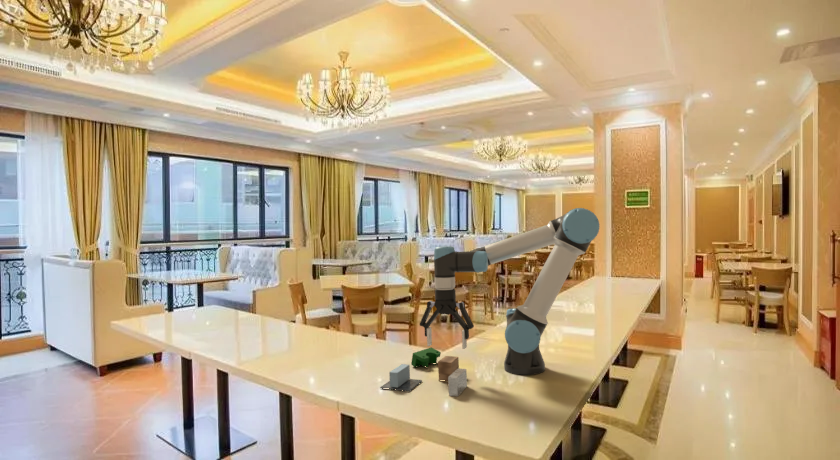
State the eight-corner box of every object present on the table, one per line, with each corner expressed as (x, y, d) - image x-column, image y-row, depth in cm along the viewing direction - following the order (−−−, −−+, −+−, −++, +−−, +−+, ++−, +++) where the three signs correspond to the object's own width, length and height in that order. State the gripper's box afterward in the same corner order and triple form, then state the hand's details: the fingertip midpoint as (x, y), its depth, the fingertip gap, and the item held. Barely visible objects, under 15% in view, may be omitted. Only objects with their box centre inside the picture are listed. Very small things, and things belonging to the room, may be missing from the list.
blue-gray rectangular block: (410, 378, 163) (409, 364, 163) (397, 387, 154) (397, 372, 154) (402, 377, 164) (401, 364, 164) (389, 386, 155) (389, 372, 155)
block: (459, 375, 167) (458, 356, 167) (452, 382, 160) (451, 362, 160) (446, 374, 169) (445, 355, 169) (438, 381, 162) (438, 361, 162)
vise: (467, 386, 155) (466, 368, 155) (457, 397, 145) (456, 378, 145) (394, 379, 166) (393, 362, 166) (380, 388, 156) (379, 371, 156)
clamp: (423, 379, 178) (420, 361, 174) (413, 372, 182) (409, 355, 178) (443, 361, 186) (440, 344, 182) (432, 355, 190) (429, 338, 186)
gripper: (481, 288, 163) (482, 346, 163) (418, 286, 173) (419, 341, 173) (475, 290, 156) (476, 351, 156) (409, 289, 166) (411, 346, 166)
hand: (446, 346), depth 165 cm, fingers open, 13 cm apart
